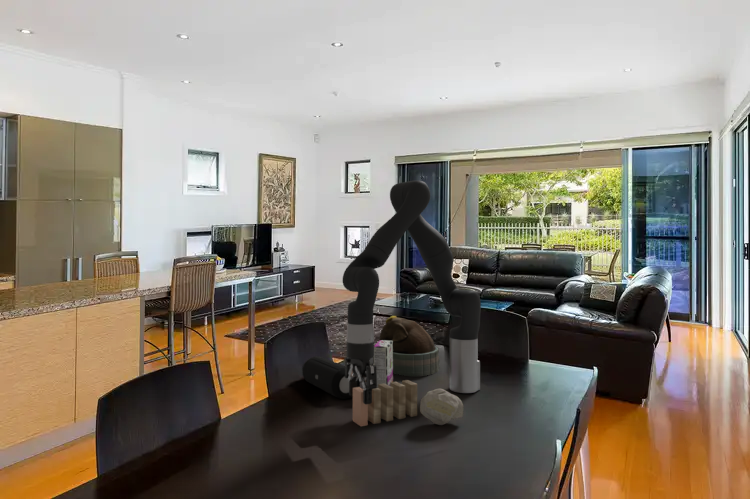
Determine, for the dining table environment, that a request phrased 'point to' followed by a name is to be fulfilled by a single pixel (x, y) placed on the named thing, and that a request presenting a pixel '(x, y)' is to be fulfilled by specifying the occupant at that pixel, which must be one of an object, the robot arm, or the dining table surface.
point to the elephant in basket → (410, 348)
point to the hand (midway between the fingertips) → (360, 399)
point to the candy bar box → (383, 361)
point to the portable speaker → (327, 376)
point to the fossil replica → (441, 406)
